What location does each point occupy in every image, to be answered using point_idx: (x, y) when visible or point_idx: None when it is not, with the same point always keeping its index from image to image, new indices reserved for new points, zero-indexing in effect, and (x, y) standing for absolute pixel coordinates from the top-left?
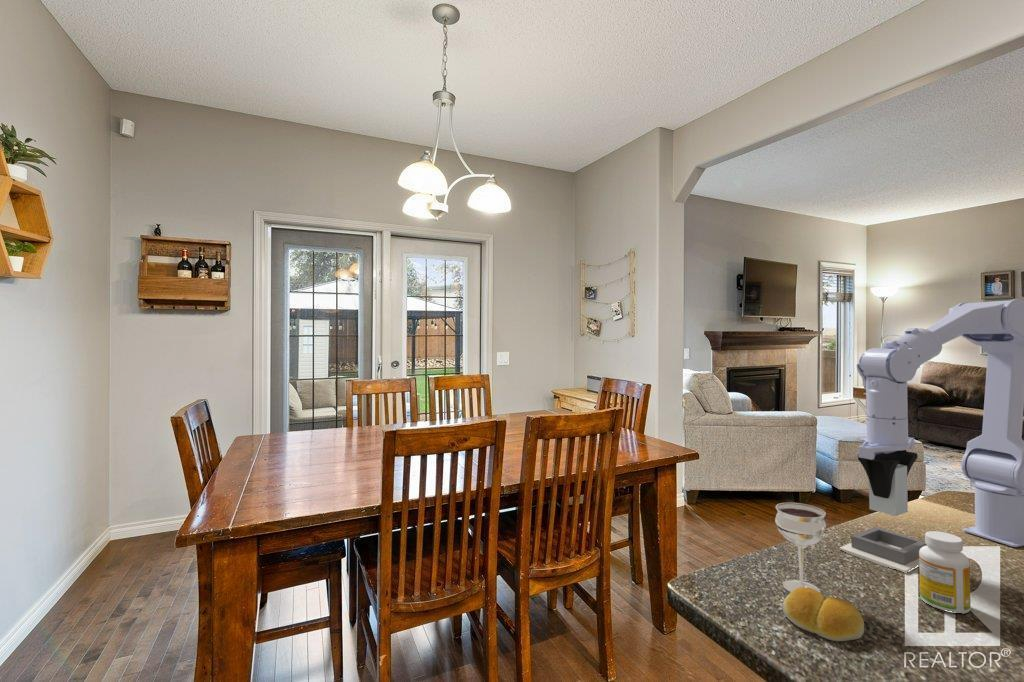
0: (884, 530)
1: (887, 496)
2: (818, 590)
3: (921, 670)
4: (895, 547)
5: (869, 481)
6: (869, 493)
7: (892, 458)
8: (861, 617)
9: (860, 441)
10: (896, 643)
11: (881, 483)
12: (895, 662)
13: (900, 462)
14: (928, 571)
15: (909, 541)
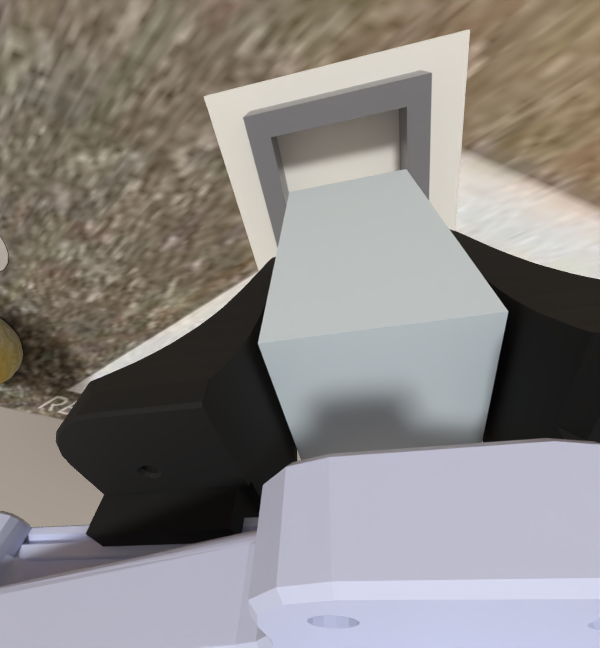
0: (419, 123)
1: None
2: (1, 262)
3: (55, 415)
4: (387, 169)
5: (244, 287)
6: (284, 223)
7: (519, 423)
8: (1, 382)
9: (263, 503)
10: (58, 385)
11: None
12: (32, 402)
13: (501, 439)
14: None
15: None
